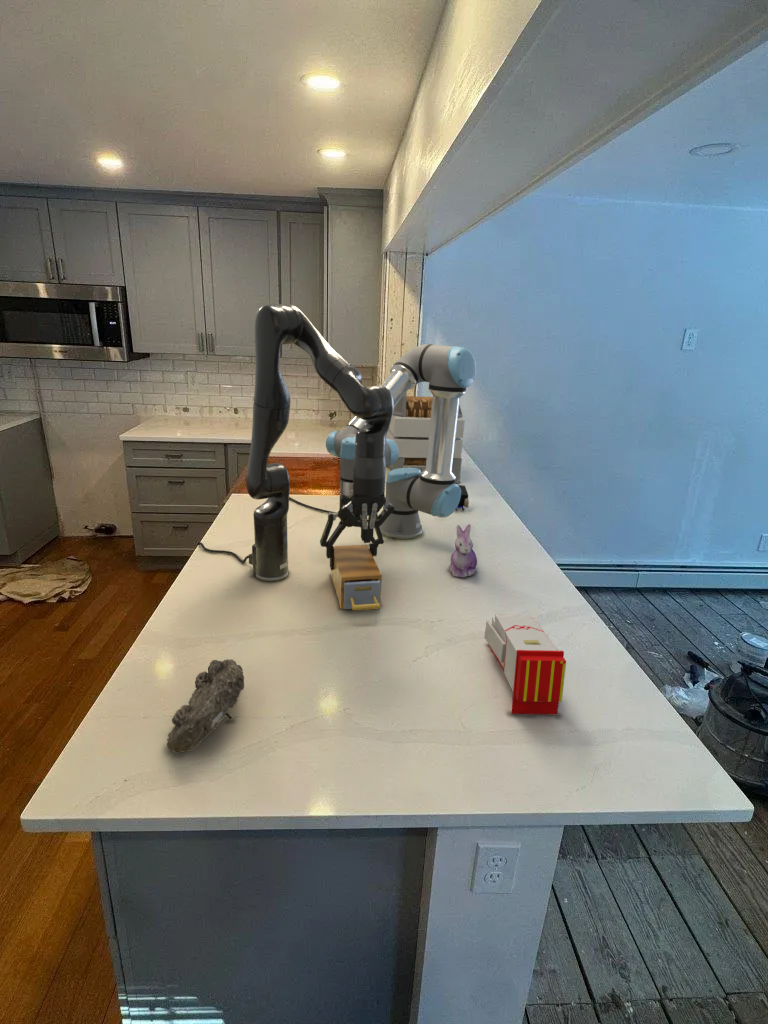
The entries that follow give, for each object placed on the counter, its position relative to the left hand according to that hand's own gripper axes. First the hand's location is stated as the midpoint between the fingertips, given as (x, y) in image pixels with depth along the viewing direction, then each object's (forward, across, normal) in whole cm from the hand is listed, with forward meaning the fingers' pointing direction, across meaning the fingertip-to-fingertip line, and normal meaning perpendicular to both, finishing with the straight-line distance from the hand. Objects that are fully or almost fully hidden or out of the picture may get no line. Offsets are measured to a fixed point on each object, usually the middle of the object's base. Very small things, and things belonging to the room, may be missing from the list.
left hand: (366, 541), depth 138 cm
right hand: (+17, 0, +21) cm, 27 cm away
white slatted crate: (+21, +51, +130) cm, 141 cm away
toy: (+21, +29, -29) cm, 46 cm away
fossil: (+21, -35, -32) cm, 52 cm away
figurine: (+21, +35, +22) cm, 46 cm away
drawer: (+20, 0, +10) cm, 22 cm away
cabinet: (+21, 0, +15) cm, 26 cm away
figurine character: (+21, +53, +80) cm, 98 cm away
